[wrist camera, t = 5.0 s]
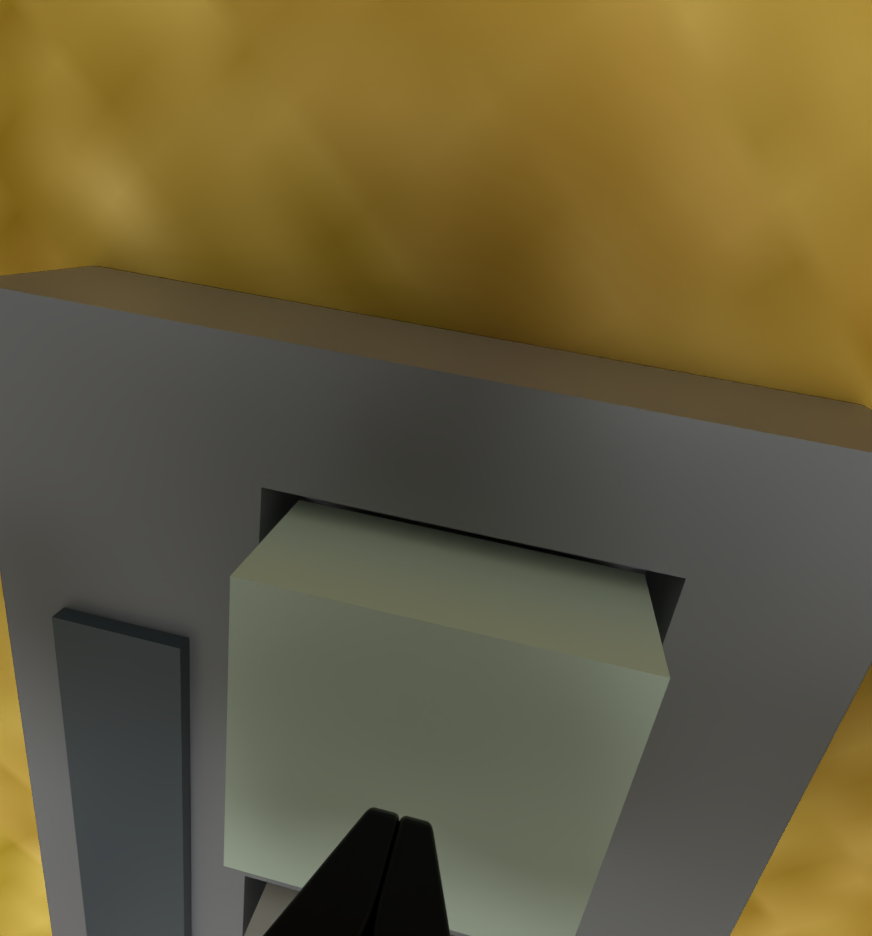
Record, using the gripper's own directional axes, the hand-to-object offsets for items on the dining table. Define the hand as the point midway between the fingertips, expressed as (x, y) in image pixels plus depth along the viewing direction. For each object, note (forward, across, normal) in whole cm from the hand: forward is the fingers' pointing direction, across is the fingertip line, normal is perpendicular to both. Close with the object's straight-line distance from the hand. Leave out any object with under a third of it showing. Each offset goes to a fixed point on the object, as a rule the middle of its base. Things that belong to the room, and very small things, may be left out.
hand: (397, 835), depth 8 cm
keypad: (+6, +1, +9) cm, 11 cm away
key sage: (+3, 0, 0) cm, 3 cm away
